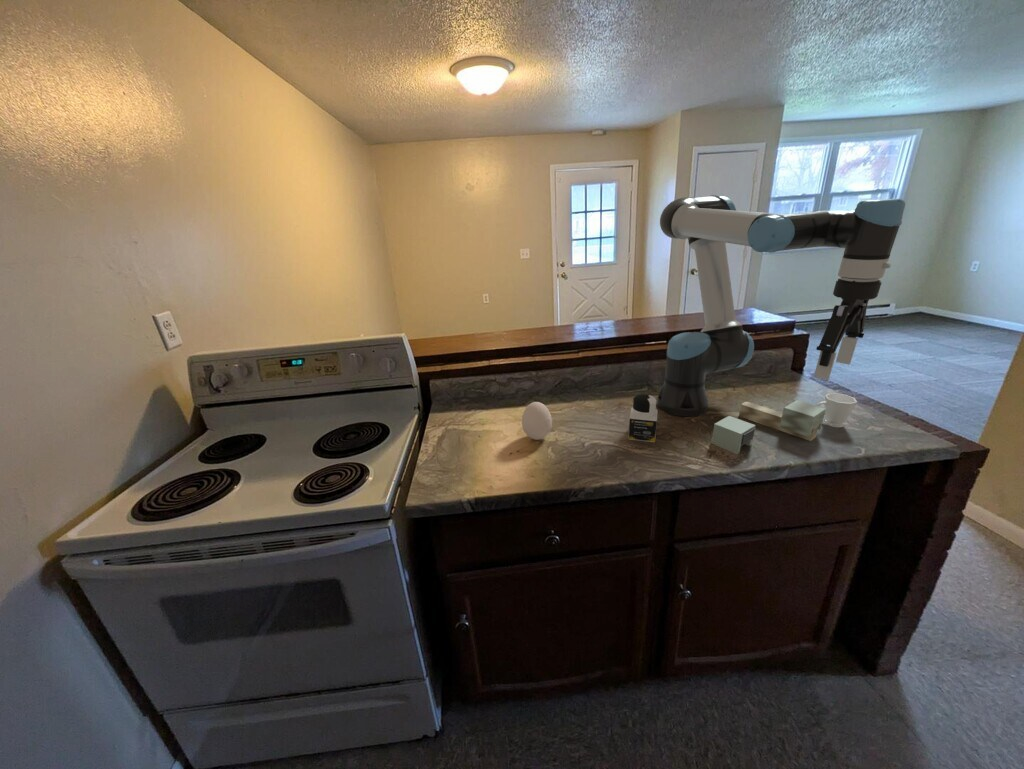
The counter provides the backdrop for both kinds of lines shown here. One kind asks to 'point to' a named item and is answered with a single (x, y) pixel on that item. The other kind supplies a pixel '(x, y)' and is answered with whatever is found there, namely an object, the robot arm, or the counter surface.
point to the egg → (536, 421)
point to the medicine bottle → (643, 418)
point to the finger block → (733, 434)
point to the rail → (769, 418)
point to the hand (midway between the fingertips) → (832, 370)
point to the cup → (837, 409)
